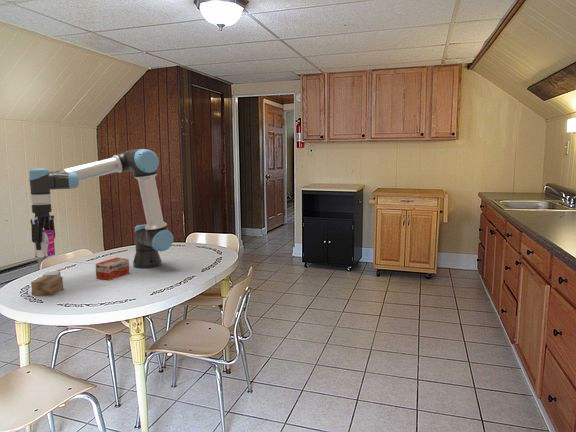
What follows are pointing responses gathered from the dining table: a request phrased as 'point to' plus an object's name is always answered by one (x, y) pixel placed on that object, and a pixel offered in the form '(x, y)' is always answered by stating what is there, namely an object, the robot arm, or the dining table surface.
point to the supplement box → (47, 243)
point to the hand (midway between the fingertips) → (45, 255)
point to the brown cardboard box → (47, 285)
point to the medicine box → (112, 268)
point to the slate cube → (52, 274)
